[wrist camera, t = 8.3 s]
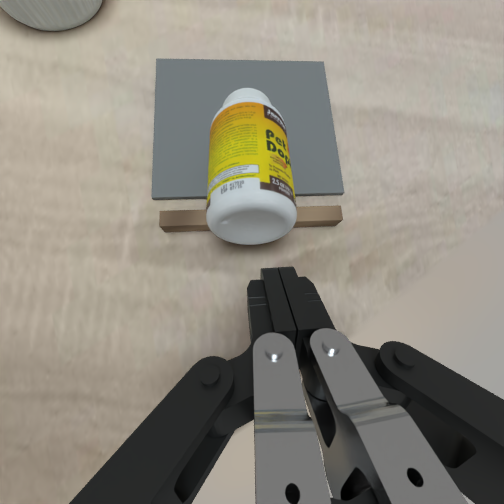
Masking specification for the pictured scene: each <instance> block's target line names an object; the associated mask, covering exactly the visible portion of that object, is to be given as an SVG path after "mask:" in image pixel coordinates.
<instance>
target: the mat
mask: <svg viewBox="0 0 504 504" xmlns="http://www.w3.org/2000/svg"><path fill="white" fill-rule="evenodd" d="M242 88H253V89H256V90H259V91H261V92H262V93H264V94H265V95H266V96H267V97H268V99H269V101H270V103H271V105H272V106H273V107H275V108H276V109H277V110H278V112H279V113H280V114H281V116H282V118H283V120H284V123H285V127H286V133H287V140H288V148H289V155H290V163H291V170H292V178H293V185H294V192H295V196H314V195H342V194H343V193H344V188H343V181H342V175H341V169H340V162H339V156H338V150H337V144H336V137H335V131H334V125H333V118H332V112H331V106H330V99H329V93H328V87H327V80H326V74H325V68H324V62H313V61H259V60H204V59H156V87H155V115H154V143H153V171H152V199H153V200H164V199H202V198H207V190H208V165H209V143H210V129H211V124H212V121H213V119H214V117H215V115H216V114H217V112H218V111H219V110H220V109H221V108H222V107H223V104H224V102H225V100H226V98H227V97H228V96H229V95H230V94H231V93H233V92H234V91H236V90H238V89H242Z"/></svg>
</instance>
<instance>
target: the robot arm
mask: <svg viewBox="0 0 504 504" xmlns="http://www.w3.org/2000/svg"><path fill="white" fill-rule="evenodd" d="M247 302H248V319H249V329H250V339H251V344H250V346H249V348H248V349H247V350H246V351H245V352H244V353H243V354H241V355H240V356H238V357H235V358H233V359H231V360H228V361H226V360H225V359H223V358H221V357H216V356H210V357H206V358H203V359H201V360H200V361H198V362H197V363H196V364H195V365H194V366H193V367H192V368H191V369H190V370H189V371H188V372H187V373H186V374H185V376H184V377H183V378H182V379H181V380H180V381H179V382H178V383H177V384H176V386H175V387H174V388H173V389H172V390H171V391H170V392H169V393H168V394H167V396H166V397H165V398H164V399H163V400H162V401H161V402H160V403H159V404H158V406H157V407H156V408H155V409H154V410H153V411H152V412H151V413H150V414H149V416H148V417H147V418H146V419H145V420H144V421H143V422H142V423H141V424H140V425H139V427H138V428H137V429H136V430H135V431H134V432H133V433H132V434H131V435H130V437H129V438H128V439H127V440H126V441H125V442H124V443H123V444H122V445H121V447H120V448H119V449H118V450H117V451H116V452H115V453H114V454H113V455H112V457H111V458H110V459H109V460H108V461H107V462H106V463H105V464H104V465H103V467H102V468H101V469H100V470H99V471H98V472H97V473H96V474H95V475H94V477H93V478H92V479H91V480H90V481H89V482H88V483H87V484H86V485H85V487H84V488H83V489H82V490H81V491H80V492H79V493H78V494H77V495H76V497H75V498H74V499H73V500H72V501H71V502H70V503H69V504H192V502H193V500H194V498H195V497H196V495H197V493H198V492H199V490H200V488H201V486H202V485H203V483H204V482H205V480H206V478H207V476H208V475H209V473H210V472H211V470H212V468H213V467H214V465H215V463H216V461H217V460H218V458H219V456H220V454H221V453H222V451H223V450H224V448H225V446H226V445H227V443H228V441H229V440H230V438H231V436H232V435H233V433H234V431H235V429H237V428H239V427H241V426H243V425H245V424H246V423H248V422H250V421H252V420H254V438H255V440H254V441H255V487H256V488H255V494H256V504H468V503H467V501H466V500H465V498H464V497H463V495H462V494H461V493H463V494H464V495H465V496H466V497H468V498H469V499H470V500H471V501H472V502H474V503H475V504H504V400H503V399H501V398H500V397H498V396H496V395H494V394H493V393H491V392H489V391H487V390H486V389H484V388H482V387H480V386H479V385H477V384H475V383H473V382H472V381H470V380H468V379H467V378H465V377H463V376H461V375H460V374H458V373H456V372H454V371H453V370H451V369H449V368H447V367H445V366H444V365H442V364H440V363H439V362H437V361H435V360H433V359H432V358H430V357H428V356H426V355H424V354H423V353H421V352H419V351H418V350H416V349H414V348H412V347H411V346H409V345H406V344H404V343H400V342H396V341H390V342H386V343H384V344H383V345H382V346H381V348H380V350H379V349H374V348H370V347H365V346H360V345H356V344H353V343H351V342H350V341H349V339H348V338H347V337H346V336H345V335H343V334H342V333H340V332H339V331H336V329H335V327H334V325H333V323H332V321H331V319H330V317H329V315H328V313H327V311H326V309H325V306H324V304H323V302H322V301H321V298H320V296H319V294H318V293H317V290H316V288H315V286H314V284H313V283H312V282H311V281H310V280H309V279H308V278H306V277H298V276H297V273H296V271H295V269H294V267H278V268H263V269H261V280H251V281H250V283H249V285H248V287H247ZM299 369H300V371H301V374H302V378H303V379H302V384H301V378H300V373H299ZM304 397H305V399H304ZM305 400H306V403H307V406H308V409H309V412H310V415H311V417H309V415H308V413H307V409H306V405H305ZM316 433H317V434H316ZM317 436H318V439H319V441H320V445H321V448H322V451H323V457H324V467H325V471H324V467H323V462H322V457H321V452H320V448H319V443H318V439H317ZM325 472H326V476H325ZM326 477H327V480H328V483H329V487H330V490H331V493H332V496H333V498H330V495H329V490H328V486H327V481H326Z"/></svg>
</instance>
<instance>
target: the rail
mask: <svg viewBox="0 0 504 504" xmlns="http://www.w3.org/2000/svg"><path fill="white" fill-rule="evenodd" d="M296 209H297V219H296V222H295V224H294V226H293V227H314V226H336V225H337V224H338V223H340V222H341V221H342V220H343V217H342V211H341V206H310V207H296ZM159 226H160V227H161V228H162V229H163V230H164V231H165V232H180V231H207V230H210V228H209V226H208V224H207V220H206V210H178V211H160V223H159Z"/></svg>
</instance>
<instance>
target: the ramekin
mask: <svg viewBox="0 0 504 504" xmlns="http://www.w3.org/2000/svg"><path fill="white" fill-rule="evenodd" d="M102 1H103V0H0V7H1V8H2V9H3V10H4V11H6V12H7V13H8V14H9V15H10V16H11V17H13V18H14V19H16V20H18V21H19V22H21V23H23V24H26V25H28V26H30V27H32V28H35V29H39V30H45V31H61V30H67V29H71V28H75V27H77V26H80V25H82V24H84V23H85V22H87V21H88V20H90V19H91V18H92V17H93V16H94V15H95V14H96V12H97V11H98V10H99V8H100V6H101V4H102Z"/></svg>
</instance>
